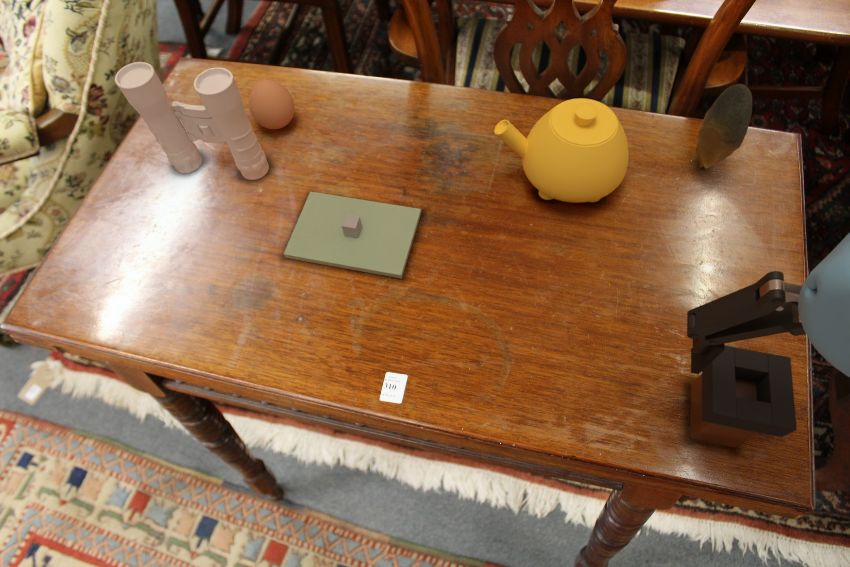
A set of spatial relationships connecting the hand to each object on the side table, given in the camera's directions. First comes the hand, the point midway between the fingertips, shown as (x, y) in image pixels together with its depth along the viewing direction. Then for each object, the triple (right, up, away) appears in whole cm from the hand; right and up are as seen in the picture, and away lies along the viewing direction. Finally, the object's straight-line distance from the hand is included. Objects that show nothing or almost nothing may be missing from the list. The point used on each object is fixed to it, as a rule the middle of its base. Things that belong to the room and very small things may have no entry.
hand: (765, 374), depth 56 cm
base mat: (-45, +17, +28) cm, 55 cm away
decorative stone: (+9, +27, +31) cm, 42 cm away
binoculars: (-68, +29, +36) cm, 82 cm away
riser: (+1, -7, +12) cm, 14 cm away
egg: (-60, +37, +41) cm, 81 cm away
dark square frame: (0, -3, +5) cm, 6 cm away
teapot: (-14, +26, +32) cm, 43 cm away
